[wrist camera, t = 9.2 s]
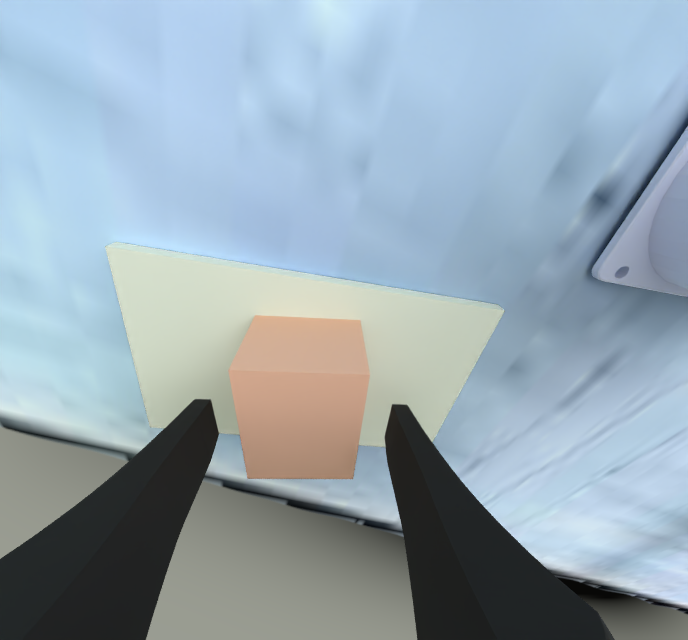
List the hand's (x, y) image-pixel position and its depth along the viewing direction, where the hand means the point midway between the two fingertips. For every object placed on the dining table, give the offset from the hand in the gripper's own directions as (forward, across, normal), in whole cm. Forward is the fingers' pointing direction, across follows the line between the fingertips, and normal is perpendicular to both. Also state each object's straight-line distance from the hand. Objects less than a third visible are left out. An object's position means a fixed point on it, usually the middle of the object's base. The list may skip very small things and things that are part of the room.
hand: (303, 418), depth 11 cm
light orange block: (+3, 0, 0) cm, 3 cm away
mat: (+3, 0, 0) cm, 3 cm away
